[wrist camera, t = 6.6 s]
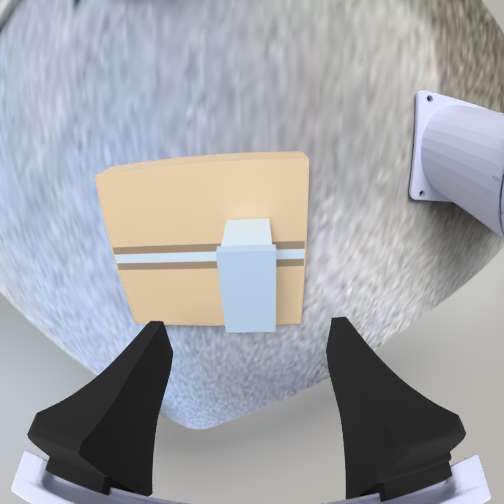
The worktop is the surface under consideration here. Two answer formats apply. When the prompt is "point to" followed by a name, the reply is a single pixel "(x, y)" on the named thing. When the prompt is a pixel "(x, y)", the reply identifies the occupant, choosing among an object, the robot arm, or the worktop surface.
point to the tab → (247, 276)
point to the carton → (202, 229)
